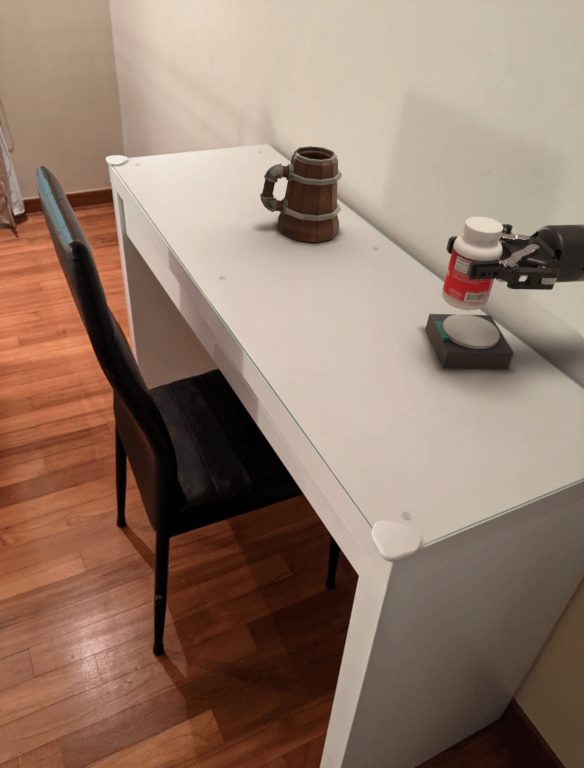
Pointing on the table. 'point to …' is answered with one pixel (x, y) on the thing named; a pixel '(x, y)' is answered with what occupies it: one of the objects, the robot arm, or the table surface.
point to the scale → (468, 342)
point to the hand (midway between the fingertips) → (459, 257)
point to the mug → (306, 195)
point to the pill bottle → (467, 248)
